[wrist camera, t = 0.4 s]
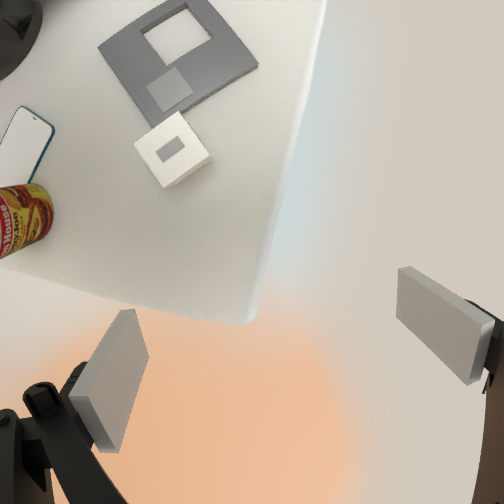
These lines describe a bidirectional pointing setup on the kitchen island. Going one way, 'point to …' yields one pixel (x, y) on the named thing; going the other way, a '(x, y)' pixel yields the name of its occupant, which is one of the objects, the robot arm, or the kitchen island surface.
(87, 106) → the kitchen island surface
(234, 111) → the kitchen island surface
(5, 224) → the canned food
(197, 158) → the block
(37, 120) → the smartphone
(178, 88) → the grey square base plate
